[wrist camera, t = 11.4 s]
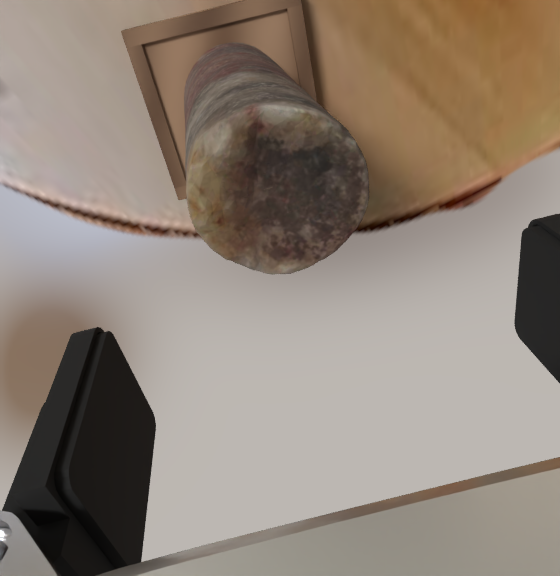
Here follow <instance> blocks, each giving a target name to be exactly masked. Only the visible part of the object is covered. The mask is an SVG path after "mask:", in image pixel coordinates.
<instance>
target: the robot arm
mask: <svg viewBox="0 0 560 576" xmlns="http://www.w3.org/2000/svg"><path fill="white" fill-rule="evenodd" d="M520 251H521V252H520V262H519V276H518V287H517V299H516V312H515V329H516V332H517V334H518V336H519V338H520V339H521V340H522V341H523V342H524V344H525V345H526V346H527V347H528V348H529V349H530V350H531V352H532V353H533V354H534V355H535V356H536V357H537V358H538V359H539V360H540V362H541V363H542V364H543V365H544V366H545V367H546V368H547V370H548V371H549V372H550V373H551V374H552V375H553V376H554V377H555V378H556V380H557V381H558V382H559V383H560V214H555V215H551V216H547V217H543V218H539V219H535V220H532V221H531V222H530V224H529V226H528V228H526V229H524V231H523V232H522V238H521V250H520ZM155 431H156V423H155V417H154V414H153V412H152V410H151V408H150V406H149V404H148V402H147V400H146V398H145V396H144V394H143V392H142V390H141V388H140V386H139V384H138V382H137V380H136V378H135V376H134V374H133V373H132V370H131V368H130V366H129V364H128V363H127V361H126V358H125V357H124V355H123V353H122V351H121V349H120V347H119V345H118V343H117V341H116V339H115V337H114V335H113V334H112V333H111V332H110V331H108V332H104V331H103V330H102V329H101V328H99V327H97V328H93V329H88V330H84V331H80V332H77V333H73V334H72V335H71V337H70V339H69V342H68V345H67V347H66V350H65V353H64V355H63V358H62V361H61V363H60V366H59V368H58V371H57V374H56V376H55V379H54V381H53V384H52V387H51V389H50V392H49V395H48V397H47V400H46V402H45V403H44V405H43V407H42V408H41V411H40V413H39V416H38V419H37V421H36V424H35V427H34V429H33V431H32V434H31V437H30V439H29V442H28V445H27V447H26V450H25V452H24V455H23V457H22V461H21V463H20V465H19V468H18V471H17V473H16V476H15V478H14V481H13V483H12V486H11V489H10V491H9V494H8V496H7V499H6V502H5V504H4V507H3V509H2V511H0V576H560V457H558V458H554V459H549V460H545V461H541V462H537V463H533V464H529V465H525V466H521V467H517V468H512V469H508V470H504V471H500V472H496V473H491V474H487V475H483V476H479V477H475V478H471V479H468V480H463V481H459V482H455V483H451V484H447V485H443V486H439V487H435V488H430V489H426V490H422V491H418V492H414V493H411V494H406V495H402V496H399V497H394V498H390V499H386V500H382V501H378V502H374V503H370V504H366V505H362V506H358V507H354V508H350V509H346V510H342V511H338V512H334V513H330V514H326V515H322V516H318V517H314V518H310V519H306V520H302V521H298V522H294V523H290V524H286V525H282V526H278V527H274V528H270V529H266V530H262V531H258V532H255V533H250V534H247V535H243V536H239V537H235V538H231V539H227V540H223V541H219V542H215V543H211V544H208V545H203V546H199V547H196V548H192V549H189V550H185V551H181V552H177V553H174V554H170V555H167V556H163V557H159V558H155V559H152V560H148V561H144V562H141V557H142V548H143V540H144V531H145V521H146V512H147V503H148V494H149V485H150V476H151V467H152V458H153V449H154V440H155Z"/></svg>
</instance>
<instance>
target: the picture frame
mask: <svg viewBox="0 0 560 576" xmlns="http://www.w3.org/2000/svg"><path fill="white" fill-rule="evenodd" d="M121 33H122V36H123V39H124V42H125V45H126V48H127V51H128V53H129V56H130V59H131V62H132V65H133V68H134V71H135V74H136V77H137V80H138V83H139V86H140V89H141V91H142V94H143V97H144V100H145V103H146V106H147V109H148V112H149V115H150V118H151V121H152V124H153V127H154V129H155V132H156V135H157V138H158V141H159V144H160V147H161V150H162V153H163V156H164V159H165V162H166V165H167V167H168V170H169V173H170V176H171V179H172V182H173V185H174V188H175V191H176V194H177V197H178V200H182V199H186V198H187V194H186V172H185V158H186V151H185V150H186V149H185V114H184V90H185V84H186V80H187V78H188V75H189V73H190V71H191V69H192V68H193V66H194V64H195V63H196V62H197V61H198V59H199V58H200V57H201V56H202V55H203V54H204V53H205V52H206V51H208V50H209V49H211V48H213V47H215V46H217V45H220V44H226V43H233V42H236V43H245V44H248V45H251V46H254V47H256V48H258V49H259V50H261V51H262V52H263V53H265V54H266V55H267V56H269V57H270V58H271V59H272V60H273V61H274V62H276V63H277V64H278V65H279V66H280V67H281V68H282V69H283V70H284V71H285V72H286V73H287V74H288V75H289V76H290V77H291V78H292V79H293V80H294V81H295V82H296V83H297V84H298V85H299V86H300V87H301V88H302V89H304V90H305V91H306V92H307V93H308V94H309V95H310V96H311V97H312V98H313V99H314V100H315V101H316V102H317V99H316V92H315V86H314V79H313V73H312V67H311V60H310V54H309V48H308V41H307V35H306V28H305V22H304V16H303V9H302V3H301V0H243V1H239V2H235V3H231V4H227V5H223V6H219V7H215V8H211V9H207V10H203V11H199V12H195V13H191V14H186V15H182V16H178V17H174V18H170V19H166V20H162V21H158V22H154V23H150V24H146V25H142V26H138V27H134V28H130V29H126V30H123V31H121Z"/></svg>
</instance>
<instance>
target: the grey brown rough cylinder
mask: <svg viewBox="0 0 560 576" xmlns="http://www.w3.org/2000/svg"><path fill="white" fill-rule="evenodd" d="M184 114H185V149H186V150H185V151H186V158H185V172H186V194H187V203H188V209H189V214H190V218H191V220H192V223H193V225H194V227H195V230H196V231H197V233H198V234H199V235H200V236H201V237H202V238H203V240H204V241H205V242H206V243H207V244H208V246H209V247H210V248H211V249H213V251H215V252H216V253H218V254H219V255H221V256H222V257H223V258H225V259H227V260H231V261H233V262H235V263H237V264H240V265H243V266H245V267H248V268H250V269H253V270H257V271H261V272H263V273H267V274H291V273H293V272H296V271H300V270H303V269H305V268H308V267H310V266H312V265H314V264H315V263H317V262H318V261H320V260H323V259H325V258H326V257H328V256H329V255H331V254H332V253H334V252H335V251H336V250H337V249H338V248H339V247H340V246H341V245H342V244H343V243H344V242H345V241H346V240H347V239H348V238H349V237H350V236H351V234H352V233H353V232H354V231H355V230H356V229H357V227H358V226H359V224H360V222H361V221H362V218H363V216H364V213H365V211H366V208H367V205H368V200H369V180H368V169H367V165H366V161H365V159H364V156H363V154H362V152H361V150H360V149H359V147H358V145H357V143H356V141H355V139H354V138H353V137H352V136H351V134H350V133H349V132H348V130H347V129H346V128H345V127H344V126H343V125H342V124H341V123H339V122H338V121H337V120H336V119H335V118H333V117H332V116H331V115H330V114H329V113H328V112H327V111H326V110H325V109H324V108H323V107H322V106H320V105H319V104H318V103H317V102H316V101H315V100H314V99H313V98H312V97H311V96H310V95H309V94H308V93H307V92H306V91H305V90H304V89H302V88H301V87H300V86H299V85H298V84H297V83H296V82H295V81H294V80H293V79H292V78H291V77H290V76H289V75H288V74H287V73H286V72H285V71H284V70H283V69H282V68H281V67H280V66H279V65H278V64H277V63H276V62H274V61H273V60H272V59H271V58H270V57H269V56H267V55H266V54H265V53H263V52H262V51H261V50H259V49H258V48H256V47H254V46H251V45H248V44H245V43H236V42H233V43H226V44H220V45H217V46H215V47H213V48H211V49H209V50H208V51H206V52H205V53H204V54H203V55H202V56H201V57H200V58H199V59H198V61H197V62H196V63H195V64H194V66H193V68H192V69H191V71H190V73H189V75H188V78H187V80H186V84H185V90H184Z"/></svg>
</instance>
